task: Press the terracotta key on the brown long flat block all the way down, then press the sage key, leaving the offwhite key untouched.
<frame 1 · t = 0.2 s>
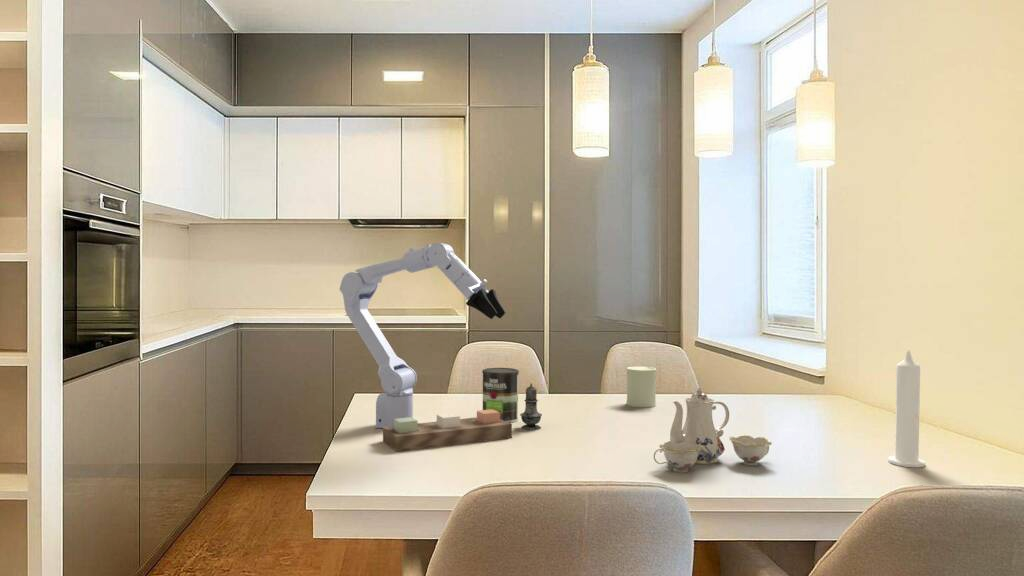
hand: (498, 316, 177), 30 cm above the table, tool tilted 45°, fingers open, 7 cm apart
salt shaker: (531, 428, 186), on the table
candle: (906, 464, 153), on the table
brown long flat block: (448, 439, 173), on the table
terracotta key: (488, 417, 178), point 4 cm above the table, slide at 0.0 cm
offwhite key: (448, 421, 173), point 4 cm above the table, slide at 0.0 cm
can: (641, 405, 219), on the table
chinaware: (706, 464, 153), on the table
coffee can: (500, 420, 196), on the table
sage key: (405, 426, 167), point 4 cm above the table, slide at 0.0 cm
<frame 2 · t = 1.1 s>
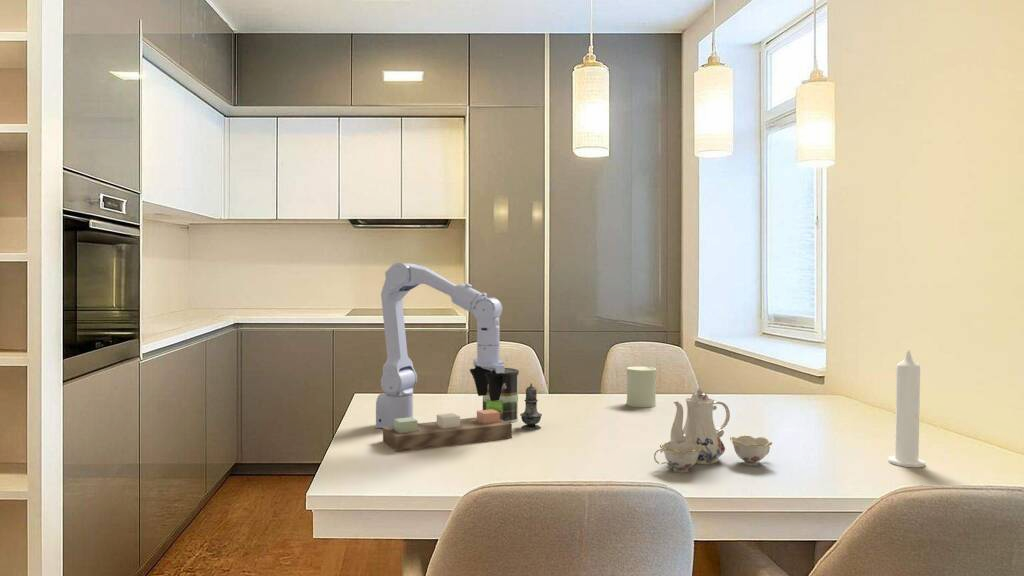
hand: (488, 397, 177), 9 cm above the table, tool pointing down, fingers open, 7 cm apart
nothing on the table moved.
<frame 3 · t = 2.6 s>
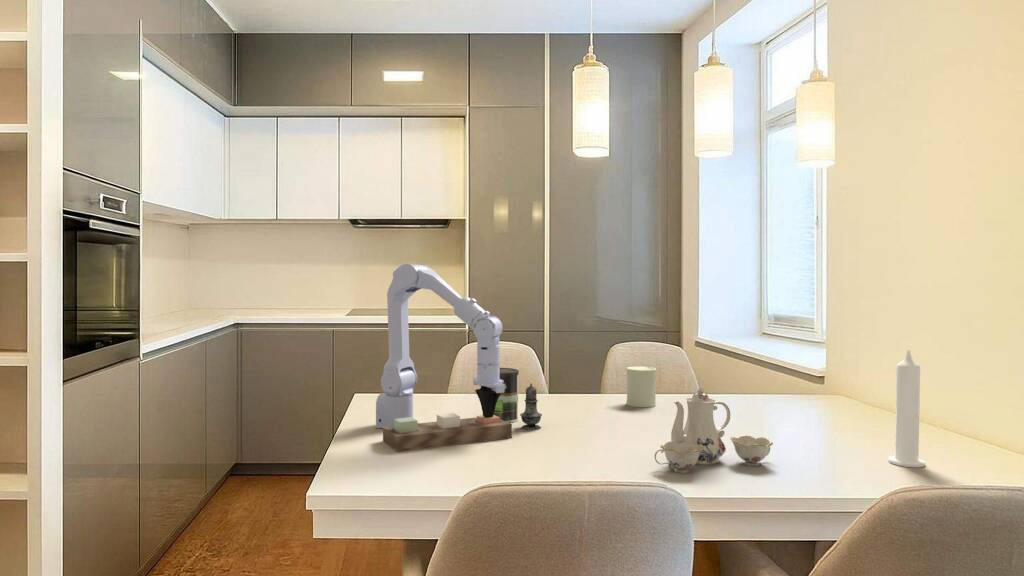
hand: (488, 416, 178), 5 cm above the table, tool pointing down, fingers closed, pressing on terracotta key
terracotta key: (488, 422, 178), point 3 cm above the table, slide at 1.3 cm, touching gripper
everything else where it was.
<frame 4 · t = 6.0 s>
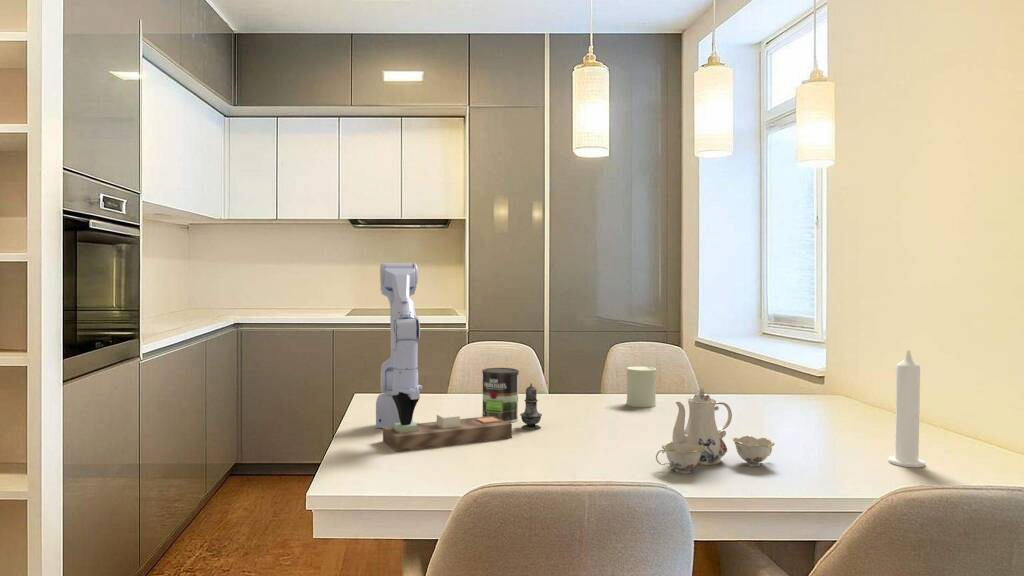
hand: (405, 424, 167), 5 cm above the table, tool pointing down, fingers closed, pressing on sage key
terracotta key: (488, 425, 178), point 2 cm above the table, slide at 2.1 cm
sage key: (405, 430, 168), point 3 cm above the table, slide at 1.1 cm, touching gripper
everything else where it was.
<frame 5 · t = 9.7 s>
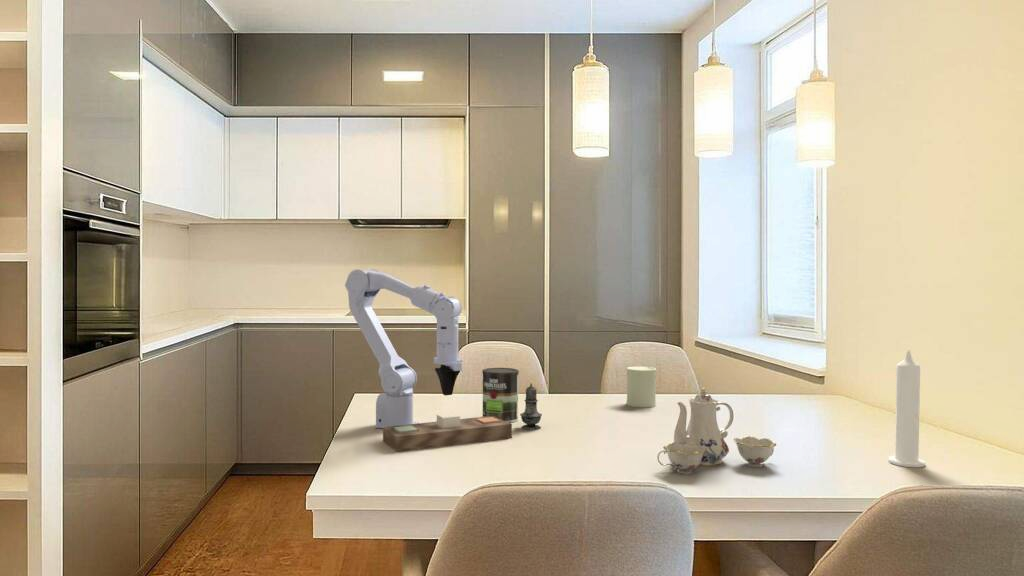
hand: (447, 394, 182), 9 cm above the table, tool pointing down, fingers closed
sage key: (405, 434, 168), point 2 cm above the table, slide at 2.1 cm
at the end: terracotta key slide at 2.1 cm; sage key slide at 2.1 cm; offwhite key slide at 0.0 cm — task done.
